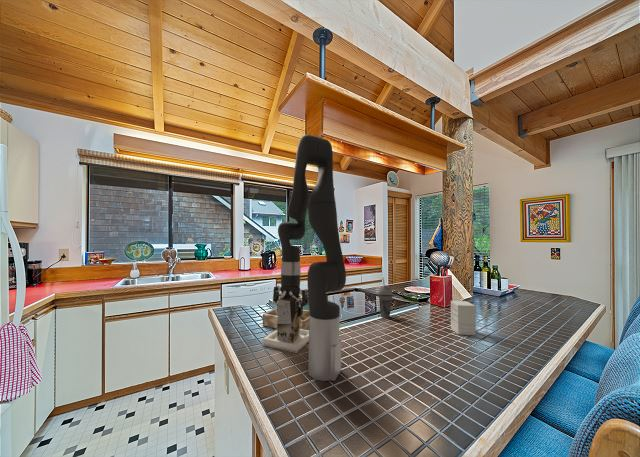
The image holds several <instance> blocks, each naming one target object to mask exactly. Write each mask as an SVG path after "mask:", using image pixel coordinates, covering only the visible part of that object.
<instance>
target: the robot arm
mask: <svg viewBox="0 0 640 457" xmlns="http://www.w3.org/2000/svg"><path fill="white" fill-rule="evenodd" d="M333 155H334V154H333V146H332V143H331V142H330V141H329V140H328V139H326V138H323V137H318V136H315V135H310V134H304V135H302V137H301V138H300V139H299V142H298V144H297V149H296V154H295V164H294V172H293V180H292V181H293V182H292V183H293V184H292V192H291V196H290V200H289V203H288V207H287V212H286V213H287V214H286V215H287V216H288V217H289V218H290V219H293V220H295V221H282V222H280V223H279V225H278V228H277V236H278V238H279V241H280V245H281V266H280V286H279V285H276V286H274V287H273V293H272V295H273V296H272V301H273V303H276V304H277V312H278V300H279V299H280V298H292V299H295V302H296V304H297V305H298V310H297V317H301V315H302V314H303V310H304V307H306V306H308V309H309V310H308V311H309V342H308V360H307V361H308V363H307V364H308V365H307V367H308V368H307V369H308V370H307V371H308V372H307V373H308V375H309V376H310V377H311V378H312V379H314V380H317V381H321V382H327V381H333V382H335V381H336V379H337V378H338V376H339V374H340V373H341V371H342V339H341V338H340V329H341V328H340V327H341V326H340V324H341V322H340V321H341V320H340V319H341V318H340V317H341V314H340V313H341V311H340V306H339V304H337V303H336V302H334V301H329V300H327V293H333V292H339V291H342V290H343V289H344V287H345V285H346V282H347V281H346V280H347V272H346V266H345V260H344V257H343V256H344V255H343V251H342V247H341V246H342V245H341V241H340V232H339V225H338V213H337V203H336V195H335V187H334V163H333V162H334V160H333V159H334V156H333ZM308 165H311V166H315V167H316V166H317V172H318V174H317V181H316V183H315V185H314V187H313V189H312V190H311V193H310V190H309V186H308V184H307V178H306V170H307V166H308ZM306 215H308V221H309V222H308V223H309V224H310V227H311V229H312V231H313V232H314V233H315V235H316V236H317V238H318V240H320V243H321V245H322V246H323V250H324V254H325V257H326V258H325V259H326V260H325V261H316V262H312V263H311V264H310V266H309V267H308V270H307V288H304V289H301V287H300V286H301V248H300V247H299V246H297V245H293V244H291V243H290V241H291V240H292V241H293V240H294V241H300V240H301V239H303V238H304V237H305V235H306ZM280 293H281V294H280ZM297 298H298V299H297Z"/></svg>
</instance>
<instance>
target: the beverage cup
mask: <svg viewBox="0 0 640 457" xmlns="http://www.w3.org/2000/svg"><path fill="white" fill-rule="evenodd" d="M382 284H383V286H381V287H380V288H379V289H378V293H377V294H378V298H379V302H378V303H379V313H380V317H381V318H383V319H390V318H391V317H390V316H391V310H392V309H391V307H392V299H393V290H392V289H391V288H390V287H389V286H387V285H385V278H384V277H382Z"/></svg>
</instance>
